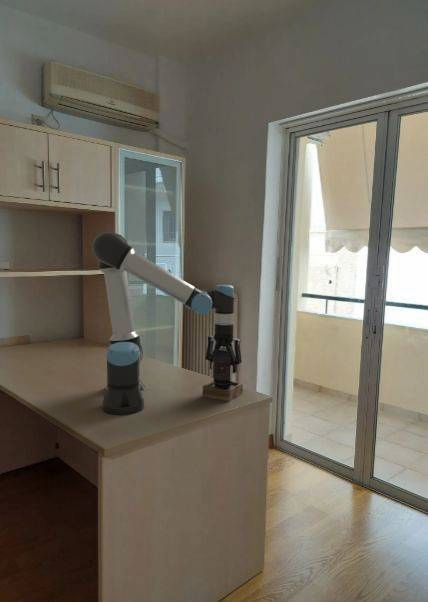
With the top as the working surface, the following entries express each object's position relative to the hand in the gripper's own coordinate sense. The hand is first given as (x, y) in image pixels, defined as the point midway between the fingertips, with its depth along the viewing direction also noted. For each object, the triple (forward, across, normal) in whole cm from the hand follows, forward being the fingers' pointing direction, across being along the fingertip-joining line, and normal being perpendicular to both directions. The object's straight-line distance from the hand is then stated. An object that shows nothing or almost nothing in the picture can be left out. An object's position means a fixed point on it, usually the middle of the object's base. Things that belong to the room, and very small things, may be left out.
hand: (223, 378), depth 180 cm
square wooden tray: (+7, 0, 0) cm, 7 cm away
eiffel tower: (+7, +38, +14) cm, 41 cm away
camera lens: (+3, 0, 0) cm, 3 cm away
